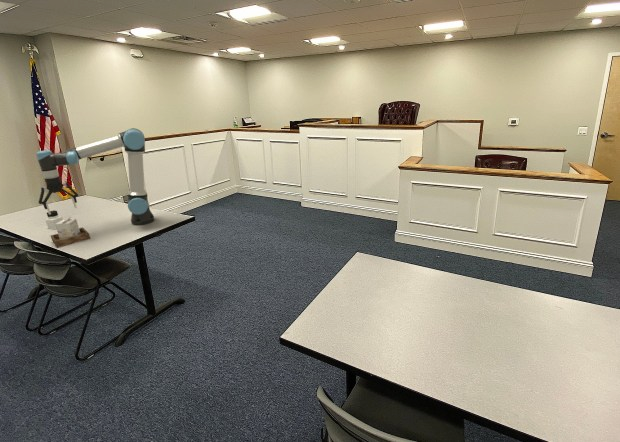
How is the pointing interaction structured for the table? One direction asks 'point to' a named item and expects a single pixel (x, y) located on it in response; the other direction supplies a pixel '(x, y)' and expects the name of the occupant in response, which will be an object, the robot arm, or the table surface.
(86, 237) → the walnut tray
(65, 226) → the ink box
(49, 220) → the medicine bottle
